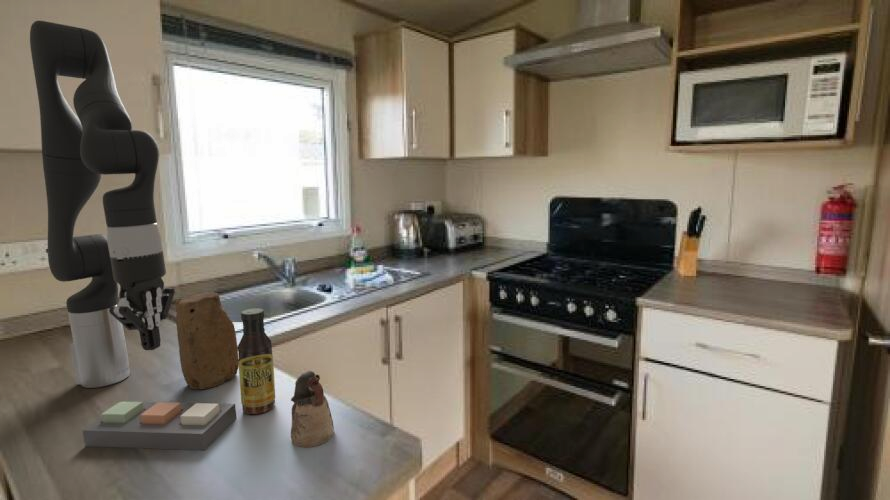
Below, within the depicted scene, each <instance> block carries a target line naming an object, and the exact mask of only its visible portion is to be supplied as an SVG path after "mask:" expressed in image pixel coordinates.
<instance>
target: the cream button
mask: <svg viewBox="0 0 890 500" xmlns="http://www.w3.org/2000/svg"><path fill="white" fill-rule="evenodd" d="M195 403H196V404H195V405H193V406H192V407H191V408H190V409H188V410H187V411H186V412H185V413H183V414H182V415H181V416H180V417H181V424H182V425H207V424H208V423H209V422H210V421H211V420H212V419H213V418H215V417H216V416H217V415H218V414H219V413H220V409H219V404H210V403H211V402H195Z"/></svg>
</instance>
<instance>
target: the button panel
mask: <svg viewBox="0 0 890 500" xmlns="http://www.w3.org/2000/svg"><path fill="white" fill-rule="evenodd" d="M126 402H134V401H133V400H132V401H131V400H130V401H129V400H128V401H126ZM142 402H143V409H144V411H142V412H141V413H140V414H138V415H137V416H135V417H134V418H133V419H131V420H130V421H128V422H127V423H103V421H102V417H100V418H99V419H97V420H96V421H94V422H93V423H92V424H90V425H87V427H85V428H84V429H82V435H83V441H84V445H85V447H95V448H97V447H99V448H101V447H102V448H124V449H125V448H128V449H130V448H131V449H134V448H135V449H156V450H157V449H159V450H160V449H161V450H166V449H167V450H188V451H190V450H191V451H196V450H197V451H206V449H208V447H209V446H210V445H212V444H213V443H214V442H215V441H216V440H217V438H218V437H220V436H221V434H222V433H224V432H225V430H227V428H228V427H230V425H232V423H233V422H235V421H236V420H237V412H236V403H227V402H226V403H220V402H219V403H218V402H216V403H215V402H209V403H210V404H219V409H220V413H219V414H218V415H217V416H216V417H215V418H213V419H212V420H211V421H210V422H209V423H208V424H207V425H182V424H181V417H180V416H181V415H182V414H183V413H185V412H186V411H187V410H188V409H190V408H191V407H192V406H193V405H195V404H196V403H197V402H179V401H178V402H173V401H171V402H169V401H167V402H166V401H162V402H163V403H180V404H181V411H182V412H180V413H179V414H178V415H177V416H175V417H174V418H173V419H172V420H170V421H169V422H168V423H167V424H142V422H141V414H142V413H144V412H145V411H147V410H148V409H149V408H151V407H152V406H154V405H155V404H156V403H158V402H159V401H142Z"/></svg>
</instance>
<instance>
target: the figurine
mask: <svg viewBox="0 0 890 500" xmlns="http://www.w3.org/2000/svg"><path fill="white" fill-rule="evenodd" d="M320 379H321V376H320V374H318V373H315V372H314V371H312V370H307V371H304V372H303V373H301V374H300V375H299V376H298V377H297V378H296V380H295V383H294V384H295V387H294V393H293V396H292V397H291V398H290V401H291V402H293V405H292V406H291V428H290V439H291V442H292V444H293V445H294V446H296V447H300V448H311V447H312V448H313V447H317V446H321V445H323V444H325V443H326V442H328V441H329V440H330V439H331V438H332V437H333V434H334V429H335V425H334V420H333V416H332V413H331V411H332V410H331V409H330V405H329V402H328V399H327V397H326V395H325V394H324V389H323V385H322V384H321V383H320Z"/></svg>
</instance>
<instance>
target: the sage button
mask: <svg viewBox="0 0 890 500" xmlns="http://www.w3.org/2000/svg"><path fill="white" fill-rule="evenodd" d="M143 402H144V401H133V402H127V401H119V402H117V403H116V404H114V405H112V406H111V407H110V408H108V409H106V410H105V411H104V412H102V413H101V414H100V415H101V418H102V421H103V423H127V422H128V421H130V420H131V419H133V418H134V417H135V416H137V415H138V414H140V413H141V412H142V411H144V409H143Z"/></svg>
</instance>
